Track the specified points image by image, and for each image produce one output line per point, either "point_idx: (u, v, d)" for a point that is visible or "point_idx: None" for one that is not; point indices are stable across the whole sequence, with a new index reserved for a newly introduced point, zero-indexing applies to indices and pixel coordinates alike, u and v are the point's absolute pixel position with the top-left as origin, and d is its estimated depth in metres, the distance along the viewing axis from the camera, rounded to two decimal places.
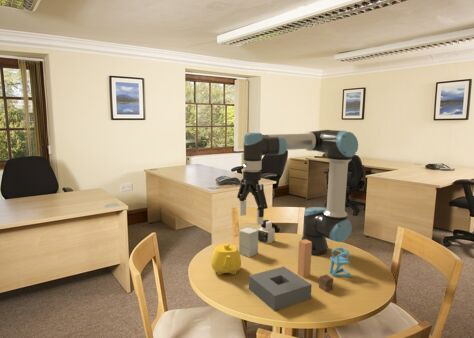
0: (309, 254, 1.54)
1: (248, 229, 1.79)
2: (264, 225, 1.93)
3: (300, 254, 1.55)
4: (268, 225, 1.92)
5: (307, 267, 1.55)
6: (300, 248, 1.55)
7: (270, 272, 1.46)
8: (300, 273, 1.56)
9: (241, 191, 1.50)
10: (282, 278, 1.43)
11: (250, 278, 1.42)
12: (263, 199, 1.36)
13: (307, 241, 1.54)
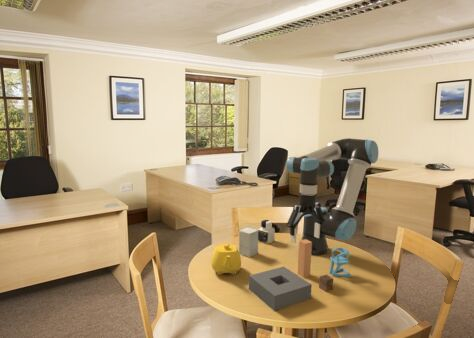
0: (309, 254, 1.54)
1: (248, 229, 1.79)
2: (264, 225, 1.93)
3: (300, 254, 1.55)
4: (268, 225, 1.92)
5: (307, 267, 1.55)
6: (300, 248, 1.55)
7: (270, 272, 1.46)
8: (300, 273, 1.56)
9: (318, 214, 1.56)
10: (282, 278, 1.43)
11: (250, 278, 1.42)
12: (291, 218, 1.48)
13: (307, 241, 1.54)
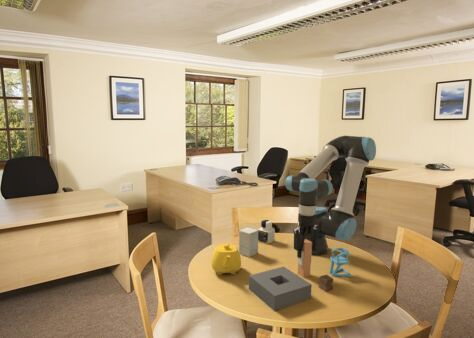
0: (309, 254, 1.54)
1: (248, 229, 1.79)
2: (264, 225, 1.93)
3: None
4: (268, 225, 1.92)
5: (307, 267, 1.55)
6: None
7: (270, 272, 1.46)
8: (300, 273, 1.56)
9: (312, 237, 1.57)
10: (282, 278, 1.43)
11: (250, 278, 1.42)
12: (295, 242, 1.51)
13: (307, 241, 1.54)
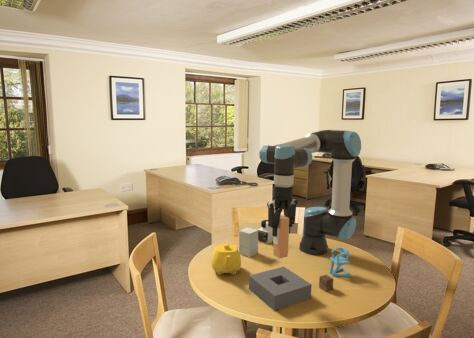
0: (286, 232, 1.35)
1: (248, 229, 1.79)
2: (264, 225, 1.93)
3: None
4: None
5: (283, 247, 1.35)
6: None
7: (270, 272, 1.46)
8: (276, 254, 1.36)
9: (290, 213, 1.38)
10: (282, 278, 1.43)
11: (250, 278, 1.42)
12: (270, 218, 1.32)
13: (284, 217, 1.35)
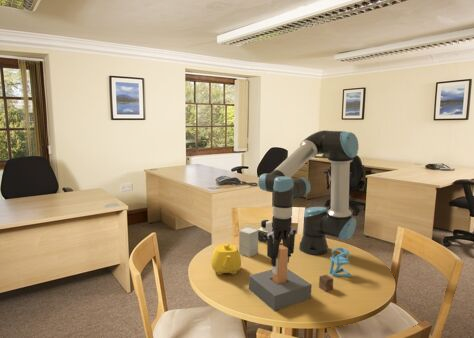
0: (285, 262, 1.37)
1: (248, 229, 1.79)
2: (264, 225, 1.93)
3: None
4: (268, 225, 1.92)
5: (282, 277, 1.37)
6: None
7: (270, 272, 1.46)
8: None
9: (289, 242, 1.40)
10: None
11: (250, 278, 1.42)
12: (269, 249, 1.34)
13: (283, 247, 1.37)
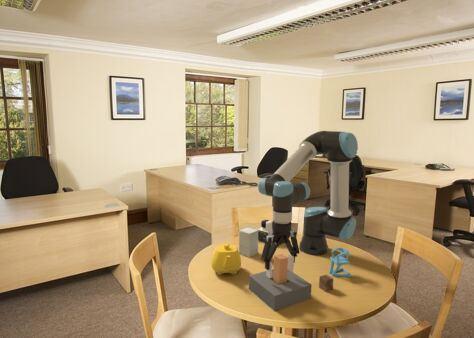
0: (285, 271, 1.38)
1: (248, 229, 1.79)
2: (264, 225, 1.93)
3: (275, 271, 1.38)
4: (268, 225, 1.92)
5: None
6: (275, 264, 1.38)
7: None
8: None
9: (292, 244, 1.41)
10: None
11: (250, 278, 1.42)
12: (264, 251, 1.33)
13: (283, 256, 1.38)
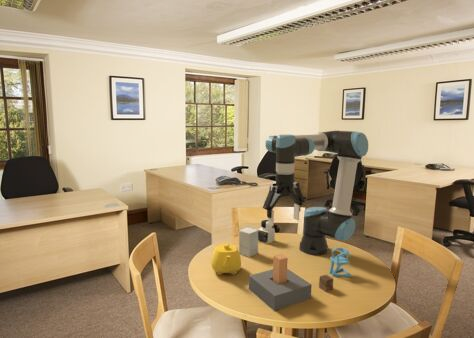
0: (285, 271, 1.37)
1: (248, 229, 1.79)
2: (264, 225, 1.93)
3: (275, 271, 1.38)
4: (268, 225, 1.92)
5: None
6: (275, 264, 1.38)
7: (270, 272, 1.46)
8: None
9: (297, 194, 1.47)
10: None
11: (250, 278, 1.42)
12: (267, 200, 1.38)
13: (282, 256, 1.38)
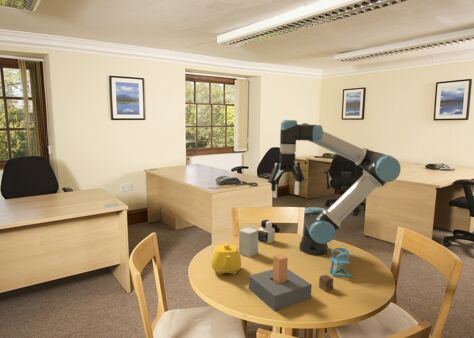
0: (285, 271, 1.37)
1: (248, 229, 1.79)
2: (264, 225, 1.93)
3: (275, 271, 1.38)
4: (268, 225, 1.92)
5: None
6: (275, 264, 1.38)
7: (270, 272, 1.46)
8: None
9: (297, 172, 1.70)
10: None
11: (250, 278, 1.42)
12: (272, 175, 1.62)
13: (282, 256, 1.38)
